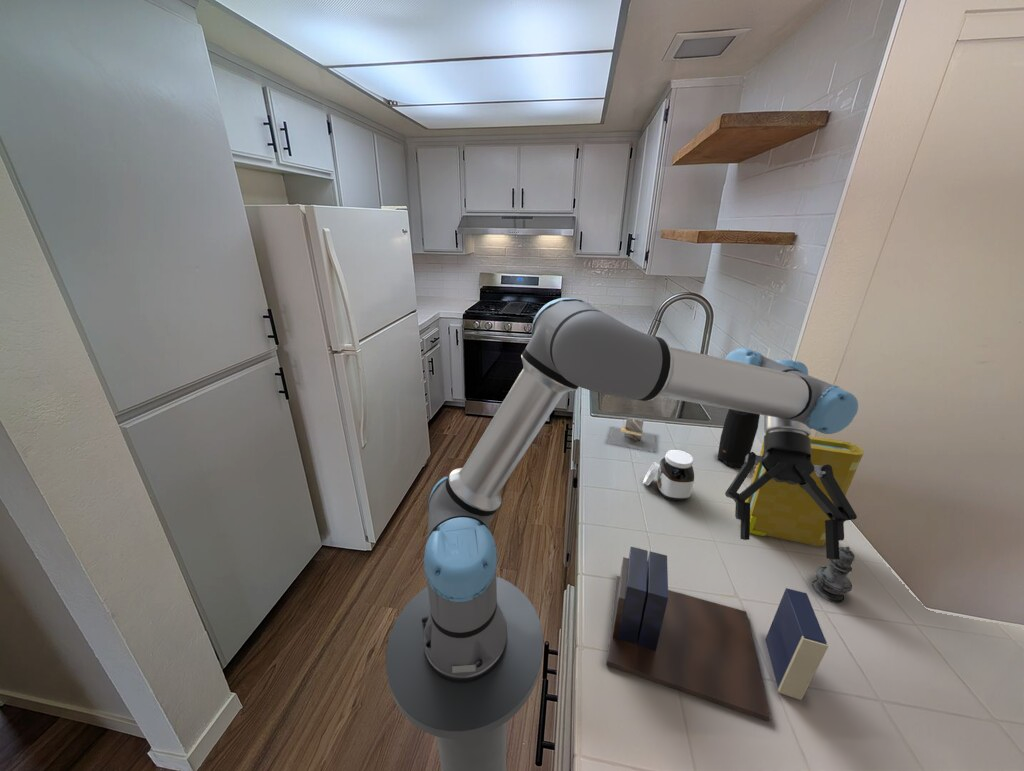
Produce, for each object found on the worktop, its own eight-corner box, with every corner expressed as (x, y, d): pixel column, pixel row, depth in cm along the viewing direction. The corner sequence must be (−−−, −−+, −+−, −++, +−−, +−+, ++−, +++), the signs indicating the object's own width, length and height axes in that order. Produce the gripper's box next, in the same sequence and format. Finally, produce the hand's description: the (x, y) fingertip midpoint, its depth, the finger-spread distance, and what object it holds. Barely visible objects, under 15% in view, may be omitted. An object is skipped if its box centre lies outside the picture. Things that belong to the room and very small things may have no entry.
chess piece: (834, 608, 74) (856, 562, 70) (803, 584, 79) (822, 540, 75) (853, 598, 76) (875, 553, 72) (821, 575, 81) (841, 531, 77)
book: (746, 532, 92) (775, 443, 83) (740, 514, 98) (766, 429, 89) (829, 550, 88) (870, 457, 78) (818, 529, 94) (854, 441, 84)
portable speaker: (724, 469, 116) (739, 412, 108) (710, 452, 125) (723, 398, 117) (753, 470, 116) (770, 412, 108) (736, 453, 125) (751, 398, 117)
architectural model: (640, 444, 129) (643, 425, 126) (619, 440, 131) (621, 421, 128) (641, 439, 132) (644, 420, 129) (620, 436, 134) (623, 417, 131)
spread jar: (693, 504, 102) (702, 468, 97) (650, 503, 102) (657, 467, 97) (676, 476, 113) (683, 442, 108) (638, 476, 113) (643, 442, 108)
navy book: (778, 692, 61) (803, 639, 56) (764, 639, 69) (785, 587, 64) (801, 700, 60) (828, 646, 55) (784, 644, 68) (807, 593, 63)
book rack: (606, 664, 65) (615, 607, 59) (616, 578, 80) (624, 527, 75) (768, 721, 57) (796, 662, 52) (745, 614, 73) (764, 560, 68)
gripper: (852, 451, 75) (860, 567, 68) (712, 430, 83) (706, 532, 76) (875, 441, 69) (887, 568, 62) (721, 419, 76) (715, 530, 69)
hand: (787, 549), depth 69 cm, fingers open, 13 cm apart
